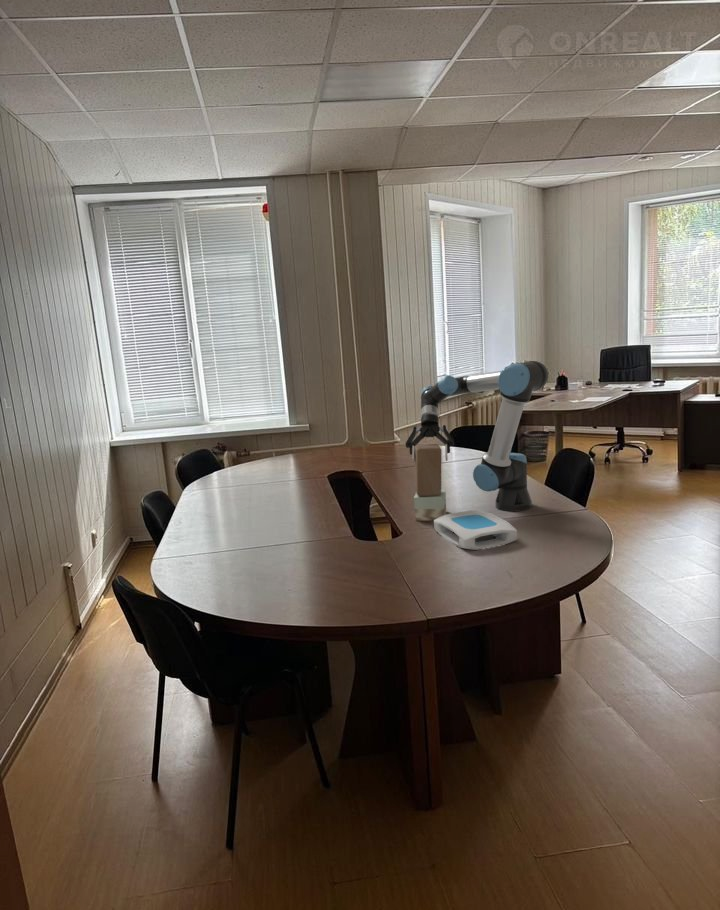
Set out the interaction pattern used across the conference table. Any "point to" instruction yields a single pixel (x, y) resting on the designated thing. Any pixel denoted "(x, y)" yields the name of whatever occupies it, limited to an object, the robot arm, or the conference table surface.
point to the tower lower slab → (429, 513)
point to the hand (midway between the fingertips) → (429, 459)
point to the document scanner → (474, 529)
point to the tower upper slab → (430, 501)
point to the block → (428, 470)
